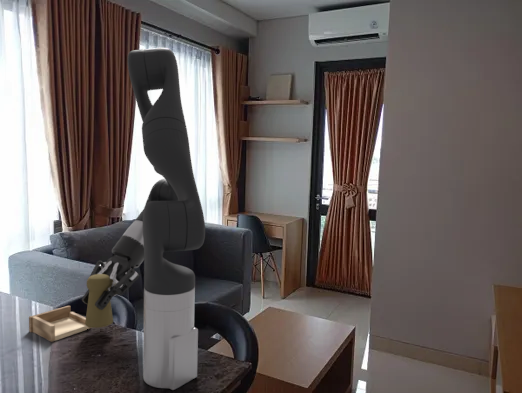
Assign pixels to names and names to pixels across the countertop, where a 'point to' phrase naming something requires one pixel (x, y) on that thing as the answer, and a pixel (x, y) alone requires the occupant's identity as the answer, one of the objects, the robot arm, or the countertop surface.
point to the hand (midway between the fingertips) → (91, 304)
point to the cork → (96, 288)
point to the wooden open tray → (57, 323)
